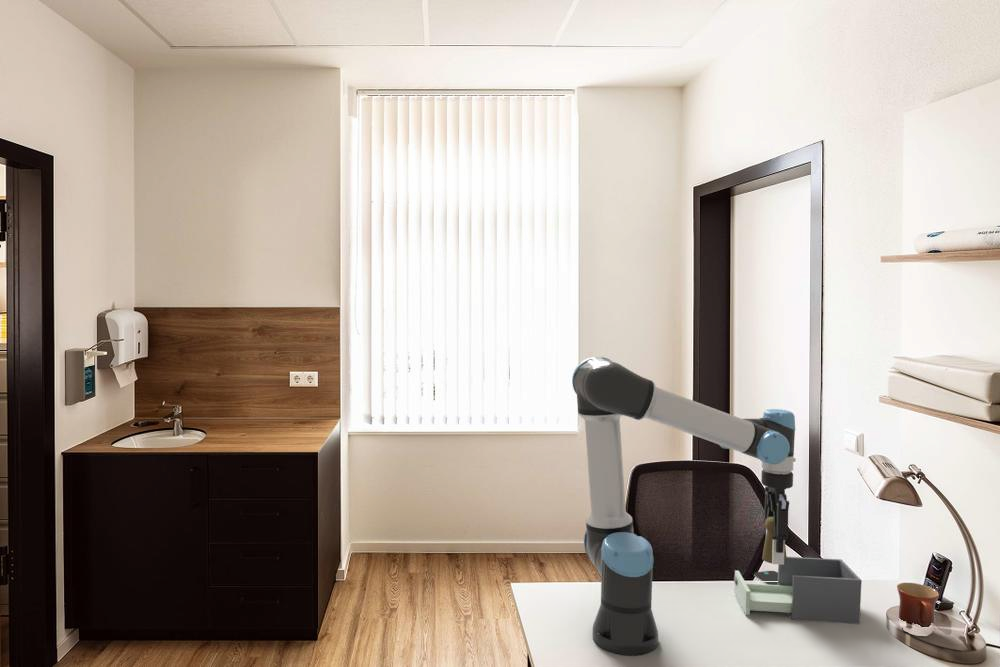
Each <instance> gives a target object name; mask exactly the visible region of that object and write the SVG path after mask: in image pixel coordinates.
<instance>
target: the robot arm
mask: <svg viewBox="0 0 1000 667" xmlns="http://www.w3.org/2000/svg"><path fill="white" fill-rule="evenodd" d="M571 381H572V382H571V383H572V388H573V391H574V393H575V395H576V402H577V413H578V414H577V415H578V416H580V417H581V418H582V419H583V420H584V425H585V426H584V429H585V439H586V441H585V442H586V454H587V455H586V456H587V468H588V469H587V471H588V472H587V473H588V483H589V484H588V485H589V496H590V497H589V498H590V511H591V512H590V513H589V515H587V517H586V518H585V526H586V529H585V531H584V537H583V546H584V551H585V553H586V554H585V555H586V556H587V558H588V560H589V561H590V562H591V563H592V565H593V566H594V567H595V569H596V571H597V573H598V574H599V575H600V580H601V581H600V583H601V584H600V605H599V608H598V611H597V613H596V616H595V619H594V621H593V624H592V639H593V641H594V643H595V644H596V645H597V646H599V647H600V648H602V649H603V650H606V651H608V652H611V653H615V654H619V655H627V656H636V655H644V654H647V653H650V652H652V651H654V650H656V648H657V647H658V645H659V631H658V630H659V629H658V628H657V624H656V621H655V616H654V613H653V610H652V600H653V599H652V597H653V596H652V595H653V594H652V593H653V568H654V566H653V565H654V562H655V560H654V555H653V553H654V552H653V547H652V545H651V544H650V542H649V541H648V540H647V539H646V538H645V537H643V536H641V535H640V536H639V535H637V534H635V533H634V520H633V517H632V515H631V514H629V513H628V512H627V509H626V494H625V478H624V466H623V452H622V451H623V450H622V438H621V437H622V436H621V434H622V433H621V420H620V418H621V417H622V416H625V417H628V418H631V419H635V420H637V421H642V420H643V419H647V420H651V421H653V422H656V423H659V424H661V425H664V426H667V427H670V428H672V429H674V430H678V431H681V432H684V433H686V434H688V435H692V436H694V437H697V438H700V439H703V440H706V441H709V442H712V443H714V444H717V445H719V447H720V448H722V449H727V450H734V451H736V452H739V453H740V454H741V453H742V454H744V455H746V456H750V457H753V458H756V459H757V460H760V461H761V468H762V470H761V484H762V485H763V486H765V487H764V510H763V511H764V512H763V523H764V524H765V520H766V519H767V518H768V517H773V518H774V537H771V538H772V539H773V550H772V563H771V565H778V564H780V565H784V549H785V547H786V541H788V540H789V509H790V501H789V500H788V498H787V494H786V491H785V490H786V489H791V488H793V486H794V473H793V472H792V471H794V462H796V461H797V459H796V458H795V456H794V454H795V435H796V434H795V433H796V419H795V414H794V413H793V412H792V411H791V410H787V409H781V408H780V409H779V408H770V409H765V410H764V412H763V415H762V417H760V418H741V417H739V416H735V415H732V414H730V413H727V412H725V411H722V410H719V409H717V408H713V407H711V406H708V405H705V404H703V403H702V402H701V403H700V402H697V401H695V400H693V399H689V398H687V397H684V396H682V395H679V394H676V393H673V392H671V391H668V390H665V389H662V388H659V387H658V386H656V383H655V381H653V380H650V379H648V378H646V377H643V376H641V375H640V374H637V373H635V372H634V371H631V370H630V369H628V368H627V367H626V366H624V365H621V364H620V363H618V362H616V361H615V362H614V361H612V360H611V359H609V358H607V357H603V356H602V357H601V356H600V357H599V356H594V357H589V358H588V357H587V358H585V359H584V360H582V361H581V362H579V363H578V365H577V366H576V367H575V368H574V371H573V373H572V378H571ZM766 533H767V529H766V528H765V534H766Z"/></svg>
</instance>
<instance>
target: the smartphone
mask: <svg viewBox="0 0 1000 667" xmlns="http://www.w3.org/2000/svg"><path fill="white" fill-rule="evenodd" d="M753 576H754V578H756V579H758V580H759V581H761V582H762V581H778V571H775V570H766V571H757V572H756V571H755V572H754V573H753ZM763 583H764V584H767V585H778V582H763Z"/></svg>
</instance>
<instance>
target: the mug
mask: <svg viewBox="0 0 1000 667" xmlns="http://www.w3.org/2000/svg"><path fill="white" fill-rule="evenodd" d="M896 588H897V593H898V595H899V606H898V617H899V618H900V619H901V620H903V621H909V622H912V623H914V624H918V625H920V626H921V627H929V626H930V625H931V623H934V624H935V609H936V608H935V607H936V603H937V601H938V599H939V597H940V593H939V592H938V590H936V589H935V588H933V587H930V586H927V585H924V584H921V583H916V582H901V583H898V584H897V585H896Z"/></svg>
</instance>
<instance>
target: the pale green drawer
mask: <svg viewBox="0 0 1000 667" xmlns="http://www.w3.org/2000/svg"><path fill="white" fill-rule="evenodd" d="M733 582H734V586H733V587H734V589H733V590H734V591H733V593H734V594H735V596H736V599H737V600H738V603H739V604H740V606H741V608H742V610H743V613H744V615H747V616H748V615H749V616H750V614H751V613H750V612H751V611H755V612H756V611H758V612H773V613H774V612H775V613H787V612H788V613H791V609H792V586H784V585H767V584H765V583H764V584H762V583H749V582H748V583H747V582H746V581H745V579H744V578H743V576H742V574H741V572H740V570H734V577H733ZM788 613H787V614H788Z"/></svg>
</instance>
